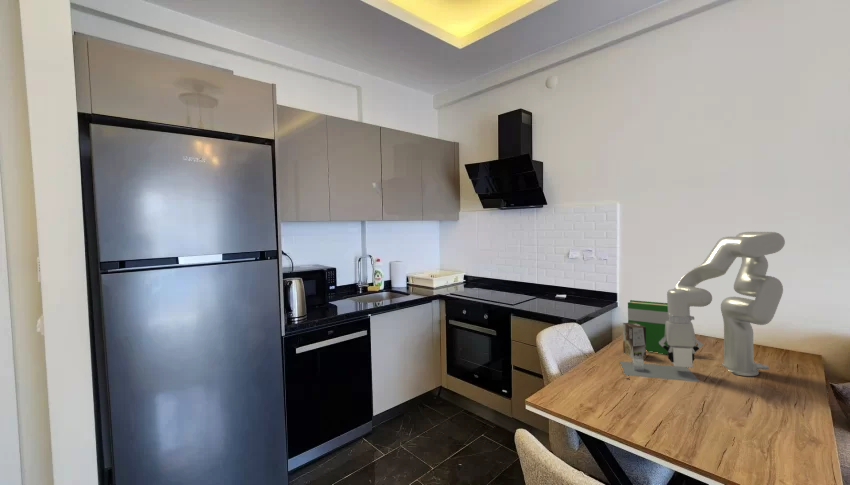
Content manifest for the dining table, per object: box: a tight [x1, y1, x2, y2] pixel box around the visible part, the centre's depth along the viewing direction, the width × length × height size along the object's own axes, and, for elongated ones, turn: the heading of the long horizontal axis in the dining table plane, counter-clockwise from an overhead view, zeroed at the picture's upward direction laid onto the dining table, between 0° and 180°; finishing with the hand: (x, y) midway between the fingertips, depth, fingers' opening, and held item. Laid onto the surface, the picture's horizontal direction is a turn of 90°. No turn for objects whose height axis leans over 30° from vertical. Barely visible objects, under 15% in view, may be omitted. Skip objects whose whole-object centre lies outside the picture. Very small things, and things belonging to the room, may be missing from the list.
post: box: [631, 356, 645, 371], centre depth 156 cm, size 4×4×5 cm
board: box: [619, 361, 701, 383], centre depth 154 cm, size 26×16×2 cm, turn 70°
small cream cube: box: [671, 347, 694, 368], centre depth 151 cm, size 6×6×8 cm
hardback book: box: [627, 299, 668, 355], centre depth 183 cm, size 18×7×24 cm, turn 51°
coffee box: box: [622, 322, 647, 359], centre depth 173 cm, size 9×6×16 cm
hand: (681, 361), depth 151 cm, fingers closed on small cream cube, 6 cm apart
